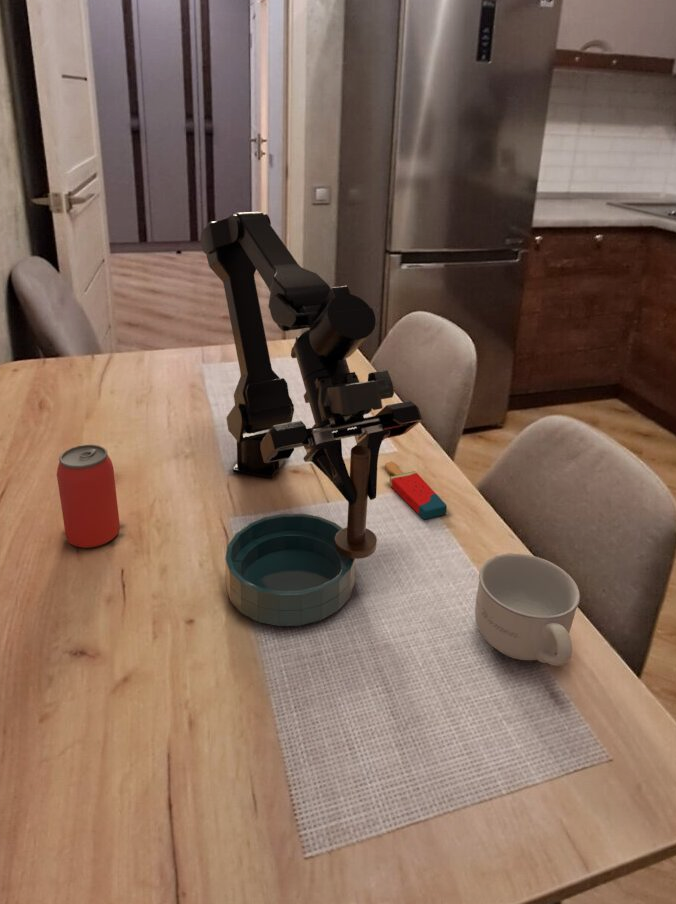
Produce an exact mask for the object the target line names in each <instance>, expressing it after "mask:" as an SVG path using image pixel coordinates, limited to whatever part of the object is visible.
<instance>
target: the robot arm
mask: <svg viewBox="0 0 676 904" xmlns="http://www.w3.org/2000/svg"><path fill="white" fill-rule="evenodd" d="M200 245H201V249H202V252H203V253H204V254H205V255H206V259H207V263H208V267H209V268H210V270H212V272H213V273H214V274H215V275H216V276H217V278H219V280H220V281H221V282H222V284H223V288H224V294H225V299H226V304H227V310H228V314H229V320H230V321H229V322H230V325H231V331H232V335H233V342H234V346H235V353H236V356H237V361H238V367H239V374H240V377H239V380H238V383H237V385H236V388H235V390H234V393H233V401H234V406H233V407H232V408H231V410H230V411H229V413H228V414H227V416H226V424H227V430H228V432H229V433H230V434H231V435H232V436H233V437H232V438H234V439H235V440H236V463H235V464H234V466H233V467H232V472H233V473H236V474H237V473H238V474H243V475H249V476H256V477H261V478H266V479H271V478H273V477H274V475H275V474H276V473H277V471H278V470H279V469H280V468H281V467H282V466H283V463H284V462H285V460H288V459H290V458H291V456H292V454H293V452H294V451H295V449H296V448H302V447H304V448H303V449H304V450H305V453H306V454H305V455H304V456H303V461H304V462H305V463H309V462H311V463H312V464H314V465H315V467H317V469H319V471H321V473H323V474H324V475H325V476H326V477H327V478H328V480H330V481H331V483H332V485H334V487H335V488H336V489H337V490H338V491H339V493H340V494H341V495H342V497H344V499H345V500H346V501H347V503H348V502H349V504H350V505H354V504H355V503H356V497H355V492H354V488H353V485H352V483H351V480H350V473H349V472H348V471H349V470H348V469H347V465H346V463H345V460H344V457H343V446H342V445H343V444H342V440H343V439H346V438H352V437H354V440H355V442H356V444H355V445H354V446H353V447H355V446H365V447H368V448H369V449H370V468H369V484H368V498H369V500H370V501H373V500H375V499H376V498H377V489H378V488H377V487H378V463H379V455H380V448H381V446H382V443H383V441H385V439H390V438H395V437H400V436H403V435H405V434H407V433H408V432H409V431H411V430H412V429H413V428H415V427H416V426H417V425H418V424H420V423H421V422H422V421H423V417H422V414H421V411H420V408H419V406H417V405H416V404H415V403H414V402H412V401H411V400H407V401H403V402H397V403H393V404H392V403H391V404H387V405H385V406H384V407H383V404H382V403H383V401H382V400H385V399H392V398H393V397H394V394H395V391H394V384H393V380H392V378H391V375H390V373H389V371H388V370H386V369H385V370H379V371H373V372H369V373H368V374H367V381H366V380H365V381H360V380H359V377H358V375H357V373H356V371H353V372H352V371H351V370H350V368H349V365H348V361H347V359H348V358H350V357H351V356H352V355H353V354H354V353H355V352H356V351H357V350H358V348H359V347H360V346H361V345H362V344H364V342H365V341H366V340H367V339H368V338H369V336H370V335H372V333H373V332H374V330H375V327H376V324H377V323H376V321H377V320H376V314H375V312H374V310H373V308H372V307H370V305H369V304H368V303H367V302H366V301H365V300H364V299H362V298H361V297H359V296H357V295H355V294H352V293H351V291H350V289H349V286H347V285H343V286H334V287H333V286H332V287H331V286H330V285H329V284H328V283H327V282H326V281H325V280H324V279H323V278H322V277H321V276H320V275H319V274H318V273H316V272H313V271H311V270H309V269H306V268H304V267H302V266H301V265H300V264H299V263H298V261H297V260H296V259H295V258H294V256H293V255H292V253H291V252H290V251H289V249H288V247H287V246H286V245H285V244H284V242H283V240H282V239H281V238H280V237H279V235H278V234H277V232H276V231H275V229H274V228H273V226H272V222H271V219H270V216H269V214H267V213H264V212H262V211H249V212H248V211H247V212H245V211H244V212H235V214H231V215H229V216H228V217H227V218H223V219H220V220H216V221H209V222H208V223H207V225H206V227H204V228H203V229H202V230H201V232H200ZM256 271H257V272H258V274H259V276H260V277H261V279H262V280H263V282H264V284H265V285H266V287H267V288H268V290H269V300H268V305H267V306H268V309H269V312H270V316H271V319H272V321H273V322H274V323H275V324H276V326H277V327H278V328H279V329H280V330H281V331H282V332H292V331H301V330H306V331H304V332H302V333H301V334H300V335H298V336H296V337H295V341H294V344H293V346H292V347H291V350H290V357H291V359H296V361H297V364H298V368H299V372H300V375H301V379H302V383H303V385H304V389H305V393H304V394H303V400H304V403H305V404H309V407H310V410H311V414H312V417H313V421H314V424H313V425H312V427H308V428H307V426H306V424H305V423H304V422H303V421H302V420H298V421H297V420H296V421H293V419H294V413H295V404H294V403H293V400H292V397H290V393H289V386H288V385H289V384H288V382H287V381H286V379H285V378H284V377H282V378H280V376H279V375H277V373H276V372H275V371H274V370H273V368H272V367H273V366H272V363H271V358H270V352H269V351H270V350H269V347H268V341H267V337H266V332H265V324H264V321H263V315H262V311H261V305H260V300H259V295H258V289H257V285H256V284H257V283H256V279H255V274H256ZM377 410H379V411H378V412H377V413H376V414H375V415H373V416H367V417H365V415H369V414H370V413H371V412H372V411H377Z"/></svg>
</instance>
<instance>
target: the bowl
mask: <svg viewBox="0 0 676 904" xmlns="http://www.w3.org/2000/svg"><path fill="white" fill-rule="evenodd" d="M341 529H344V528H343V527H341V526H340V525H339V524H338V523H336V522H334V521H331V520H329V519H326V518H324V517H322V516H319V515H312V514H306V513H280V514H275V515H271V516H265V517H262V518H261V519H258V520H255V521H253V522H250V523H249V524H247V525H245V526H244V527H243V528H241V529H240V530H239V531H238V532H236V533H235V534H234V536H233V537H232V538H231V539H230V542H228V544H227V546H226V553H225V556H224V557H225V559H224V560H225V586H226V587H225V588H226V591H227V594H228V597H229V600H230V602H231V604H232V605H233V606H234V607H235V608H236V609H237V610H238V611H239V612H240V614H242V615H244V616H246V617H247V618H250V619H252V620H254V621H256V622H259V623H261V624H267V625H271V626H277V627H294V626H304V625H308V624H312V623H315V622H320V621H321V620H324V619H325V618H327V617H329V616H331V615H332V614H335V613H336V612H338V611H339V610H340V609H341V608H342V607H343V606H344V605H345V603H346V602H347V601H348V600H349V599H350V597H351V595H352V592H353V589H354V586H355V581H356V580H355V579H356V577H355V576H356V560H357V559H351V558H347V557H344V556H342V555H341V554H339V553H338V552H337V551H336V549H335V536H336V534H337V533H338V532H339V531H340V530H341Z"/></svg>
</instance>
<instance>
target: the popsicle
mask: <svg viewBox="0 0 676 904" xmlns="http://www.w3.org/2000/svg"><path fill="white" fill-rule="evenodd" d="M384 468H385V469H386V470H387V471H388V472H389V473H391V474H392V475H390V476H389V487H391V488H392V489H393V490H394V491H395V492H396V493H397V494H398V495H399V496H400V497H401V498H402V499H403V500H404V501H405V502H406V503H407V504H408V505H409V506H410V507H411V508H412V509H413V510H414V511H415V512H416V513H417V514H418V515H419V516H420V517H421V518H422V519H423V520H428V519H433V518H435V517H441V516H444V515H446V514H447V508H448V505H447V504H446V503H445V501H444V500H443V499H442V498H440V496H439V495H438V494H437V493H436V491H434V490H433V488H432V487H431V486H430V485H429V484H428V483H427V482H426V481H425V480H424V479H423V478H422V477H421V476H420V475H419V473H418V472H417V471H415V470H413V471H409V472H402V469H401V467H400V466H399V465H398V464H397V463H396V462H395V461H388V462H384Z"/></svg>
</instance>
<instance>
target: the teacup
mask: <svg viewBox="0 0 676 904" xmlns="http://www.w3.org/2000/svg"><path fill="white" fill-rule="evenodd" d="M580 602H581V593H580V590H579V587H578V585H577V583H576V581H575V580H574V579H573V577H572V576H571V575H570V574H569V573H568V572H566V571H565V570H564V569H562V567H560V566H558V565H557V564H555V563H553V562H552V561H549V560H546V559H544V558H541V557H538V556H536V555H531V554H525V553H515V552H514V553H513V552H507V553H503V554H497V555H495V556H492V557H490V558H488V559H487V560H485V562H484V563H483V564H482V566H481V567H480V570H479V573H478V585H477V590H476V598H475V605H474V618H475V622H476V626H477V628H478V630H479V633H480V634H481V636H482V637H483V639H485V640H486V642H487V643H489V645H490V646H492V647H493V648H494V649H496V651H498V652H500V653H501V654H503V655H505V656H506V657H509V658H511V659H516V660H519V661H538V662H540V663H542V664H543V663H544V664H549V665H552V666H557V667H559V666H563V665H566V664H568V663H569V662H570V660H571V659H572V655H573V643H572V639H571V636H570V631H571V628H572V626H573V622H574V618H575V614H576V611H577V609H578V607H579V605H580Z"/></svg>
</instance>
